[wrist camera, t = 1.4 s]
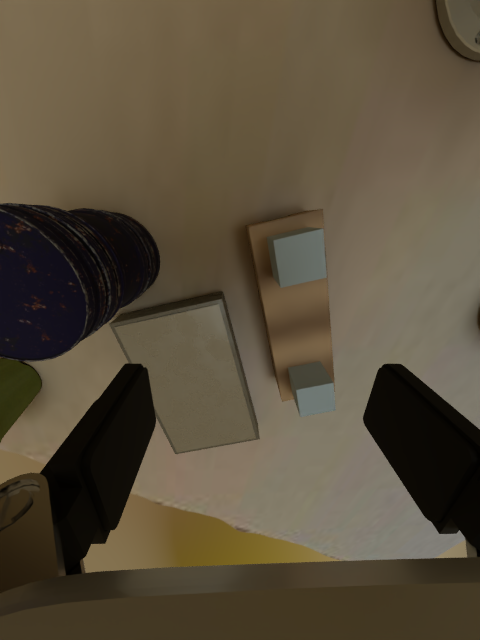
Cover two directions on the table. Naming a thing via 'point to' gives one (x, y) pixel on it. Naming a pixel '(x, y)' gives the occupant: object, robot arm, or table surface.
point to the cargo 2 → (312, 389)
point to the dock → (191, 371)
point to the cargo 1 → (297, 256)
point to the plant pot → (15, 391)
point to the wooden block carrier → (292, 305)
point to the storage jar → (66, 275)
